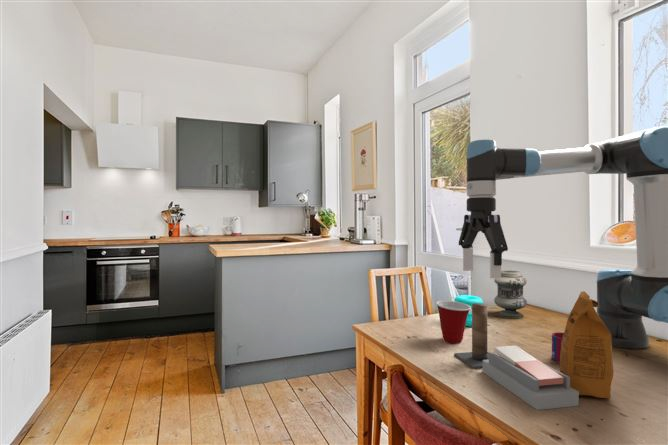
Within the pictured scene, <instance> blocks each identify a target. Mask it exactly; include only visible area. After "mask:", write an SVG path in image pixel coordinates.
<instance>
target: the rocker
mask: <svg viewBox="0 0 668 445" xmlns="http://www.w3.org/2000/svg"><path fill="white" fill-rule="evenodd" d="M493 353H494V354H496V355H498V356H499V357H501V358H503V359H504V360H506V361H508V362H509V363H511V364H513V365H514V366H516V367H518V368H519V369H521V370H523V371H524V372H526V373H528V374H529V375H531V376H533V377H535V378H536V379H538V380H539V386H543V385H553V384H563V381H564V377H562V376H561V375H559V374H558V373H556V372H555V371H553V370H552V369H550V368H549V367H547V366H546V365H547V364H546V365H544V364H545V363H544V362H542V363H541V361H540V360H538V358H535V357H534V356H532V355H531V354H530V353H528V352H526V351H525V350H523V349H522V348H521V347H519V346H517V345H505V346H494V352H493ZM543 363H544V364H543Z"/></svg>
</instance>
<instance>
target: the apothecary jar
mask: <svg viewBox="0 0 668 445" xmlns="http://www.w3.org/2000/svg"><path fill="white" fill-rule="evenodd" d="M493 279H494V283H495V284H496V285H497V295H496V296H495V297H494V300H493V302H494V303H495V305H496V306H498V308H501V309H503V310H500V311H498V312H497V313H496V315H497V316H498V317H502V318H507V319H522V318H524V317H525V316H524V314H523V313H521V312H519V311H517V310H520V309H521V310H522V309H524V308H526V306H527V304H528V301H527V299H526V298H525V297H524V286H525V285H527V279H526V278H525V277H524V276H523V272H522V271H520V270H516V269H501V278H493Z"/></svg>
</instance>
